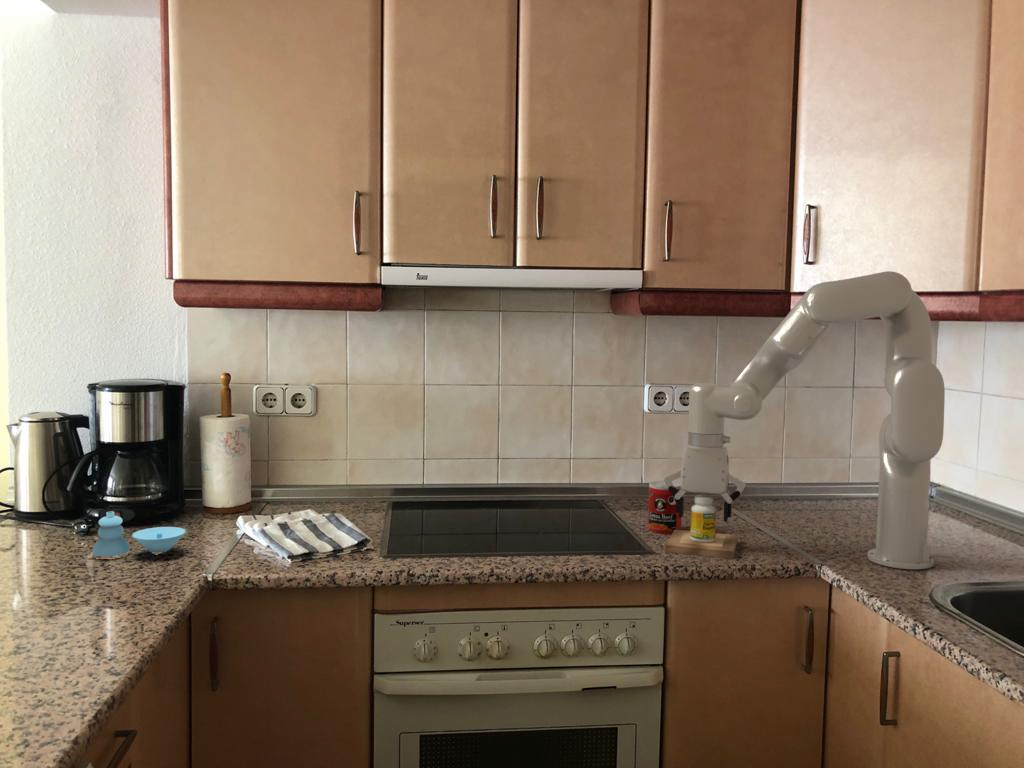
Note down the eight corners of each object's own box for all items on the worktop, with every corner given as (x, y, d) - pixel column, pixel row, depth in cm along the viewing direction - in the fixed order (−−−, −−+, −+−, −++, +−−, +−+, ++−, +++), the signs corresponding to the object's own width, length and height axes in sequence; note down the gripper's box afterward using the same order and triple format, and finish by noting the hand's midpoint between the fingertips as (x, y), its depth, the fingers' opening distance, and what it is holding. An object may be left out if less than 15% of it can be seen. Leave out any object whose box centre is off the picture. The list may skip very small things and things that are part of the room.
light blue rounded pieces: (191, 546, 186) (190, 504, 185) (181, 560, 176) (180, 516, 175) (101, 549, 183) (99, 507, 182) (86, 563, 173) (84, 518, 172)
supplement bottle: (702, 535, 194) (703, 492, 193) (720, 540, 189) (722, 497, 188) (684, 538, 191) (686, 495, 190) (702, 544, 186) (704, 500, 185)
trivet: (737, 541, 195) (737, 534, 194) (733, 558, 181) (733, 551, 181) (674, 536, 199) (674, 529, 199) (665, 551, 186) (665, 544, 186)
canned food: (643, 531, 203) (644, 484, 202) (654, 524, 210) (655, 479, 209) (675, 535, 199) (676, 488, 198) (685, 528, 206) (686, 482, 205)
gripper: (747, 440, 189) (745, 518, 190) (667, 436, 194) (665, 511, 196) (745, 445, 182) (743, 525, 183) (662, 440, 187) (660, 518, 189)
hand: (703, 518), depth 190 cm, fingers open, 9 cm apart
